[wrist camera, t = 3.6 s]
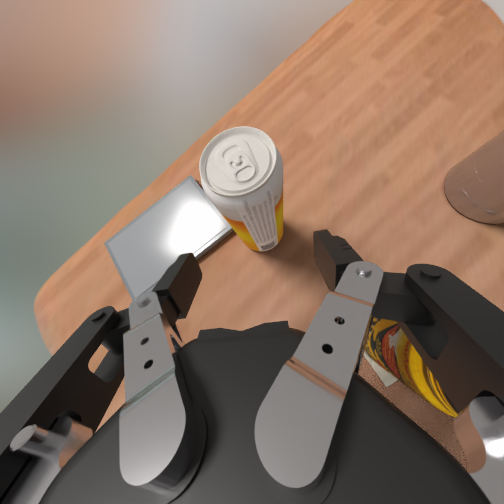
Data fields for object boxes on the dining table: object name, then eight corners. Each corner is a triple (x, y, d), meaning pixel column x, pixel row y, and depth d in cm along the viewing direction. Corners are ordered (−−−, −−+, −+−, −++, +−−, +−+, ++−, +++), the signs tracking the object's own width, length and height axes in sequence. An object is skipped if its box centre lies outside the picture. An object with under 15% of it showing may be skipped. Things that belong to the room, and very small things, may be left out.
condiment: (342, 326, 22) (408, 363, 10) (401, 288, 22) (536, 285, 10) (385, 386, 20) (526, 516, 8) (451, 346, 20) (688, 421, 8)
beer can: (269, 206, 27) (254, 106, 12) (291, 239, 25) (301, 168, 11) (235, 226, 27) (180, 151, 13) (254, 260, 26) (216, 218, 11)
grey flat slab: (194, 179, 30) (190, 174, 29) (234, 230, 27) (232, 227, 26) (111, 244, 30) (103, 242, 29) (141, 303, 27) (134, 304, 26)
